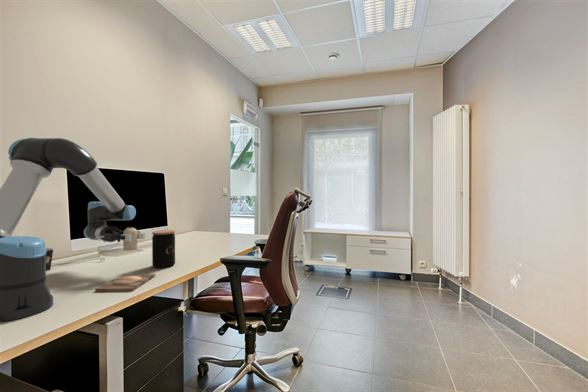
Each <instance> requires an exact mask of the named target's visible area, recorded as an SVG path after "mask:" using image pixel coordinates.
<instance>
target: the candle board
mask: <svg viewBox="0 0 588 392" xmlns="http://www.w3.org/2000/svg"><path fill="white" fill-rule="evenodd" d="M154 278H156V273H137V274H136V273H131V274H130V273H128V274H127V273H123V274H121V275H120V276H118V277H115V278H113V279H111V280H110V281H107V282H105V283H104V284H102V285H100V286H98V287H96V288H95V291H94V292H95V293H102V292H103V293H106V292H107V293H108V292H111V293H112V292H116V293H117V292H134V291H135V290H137V289H139V288H140V287H141V286H143V285H145V284H146V283H148V282H149V281H151V280H152V279H154Z"/></svg>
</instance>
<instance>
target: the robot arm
mask: <svg viewBox="0 0 588 392" xmlns="http://www.w3.org/2000/svg"><path fill="white" fill-rule="evenodd" d="M7 154H8V155H9V156H8V160H9V165H10V167H11V168H12V169H11V171H10V172H9V174H8V176H7V177H6V179H5V181H4V182H3V184H2V185H1V187H0V322H6V321H13V320H19V319H23V318H27V317H30V316H34V315H36V314H37V315H38V314H40V313H42V312H44V311H46V310H48V309H50V308H51V307H53V306H54V297H53V295H52V294H51V291H50V288H49V286H48V284H47V271H46V242H45V240H44V239H42V238H40V237H36V236H28V235H27V236H25V235H23V236H21V235H20V236H19V235H18V236H17V235H15V236H13V234H14V232H15V230H16V228H17V226H18V224H19V223H20V220H21V218H22V217H23V214H24V213H25V212H26V210H27V208H28V206H29V203H30V201H31V200H32V198H33V196H34V195H35V192H36V191H37V189H38V187H39V185H40V183H41V182H42V179H44V178H48V177H50V175H51V174H52V172H53V170H54V169H64V170H66V171H67V170H68V171H69V172H70V173H71V174H72V175H73V176H75V177H76V176H77V177H79V179H80V180H81V181H82V182H83V183H84V185H85V186H86V187H87V188H88V189H89V190H90V191H91V192H92V193H93V195H94V196H95V197H96V198H97V199H98V200H99V201H89V202H88V204H87V226H86V227H85V228H84V229H83V236H84V237H85V238H86V239H88V240H89V239H90V240H92V241H101V242H103V243H106V242H108V243H113V242H115V241H116V242H117V243H120V242H121V241H122V242H123V241H131V235H127V234H123V231H124V230H120V229H119V228H118V227H117V226H111V225H107V221H132V220H133V219H134V218H135V217H136V214H137V211H136V209H137V208H135V206H133V205H131V204H130V205H127V204H126V203H125V202H124V200H123V199H122V197H120V195H119V194H118V193H117V191H116V190H115V189H114V187H113V186H112V185H111V183H110V182H109V181H108V180H107V178H106V176H104V174H103V173H102V172H101V171H100V169H99V167H98V162H97V161H96V160H95V158H94V157H93V156H92V154H90V153H89V152H88V151H87V150H86V149H84V148H83V147H82V146H80V145H79V144H77V143H76V142H74V141H72V140H69V139H66V138H63V137H61V138H60V137H55V138H47V137H46V138H40V137H39V138H36V137H27V138H21V139H17V140H15V141H14V142H12V144H10V146H9V147H8V151H7ZM138 239H139V240H145V239H146V233H145V232H141V231H140V230H137V240H138Z"/></svg>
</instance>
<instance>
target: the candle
mask: <svg viewBox="0 0 588 392" xmlns="http://www.w3.org/2000/svg"><path fill="white" fill-rule="evenodd" d="M122 231H123V234H127V235H131V241H123V240H122V242H123V244H122V245H123V247H122V248H123V251H135V250H138V239H137V231H138V230H137V229H136V228H135V227H126V228H125V229H124V230H122Z"/></svg>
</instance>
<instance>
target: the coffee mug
mask: <svg viewBox="0 0 588 392" xmlns="http://www.w3.org/2000/svg"><path fill="white" fill-rule="evenodd" d="M45 248H46V247H45ZM53 252H54V248H51V247H50V248H49V247H47V248H46V272H49V271H50V270H51V268H52V260H53V256H54V255H53Z"/></svg>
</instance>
